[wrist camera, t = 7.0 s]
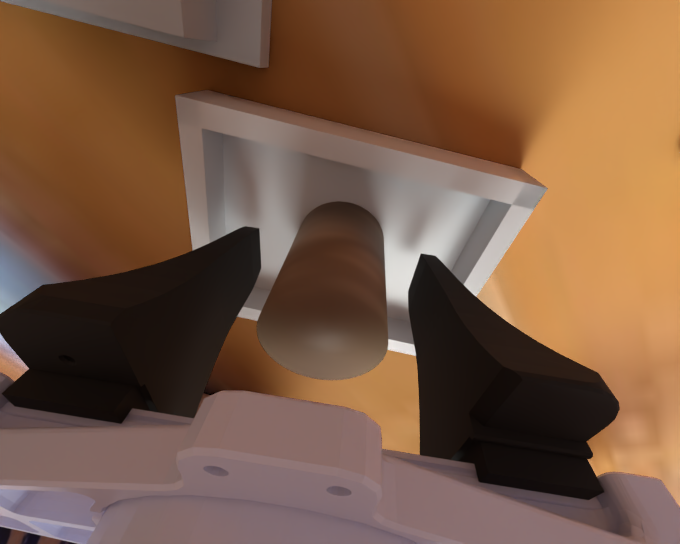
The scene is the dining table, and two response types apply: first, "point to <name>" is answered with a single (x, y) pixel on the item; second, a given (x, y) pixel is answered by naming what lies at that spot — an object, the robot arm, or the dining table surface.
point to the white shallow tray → (345, 193)
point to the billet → (329, 297)
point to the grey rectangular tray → (178, 23)
